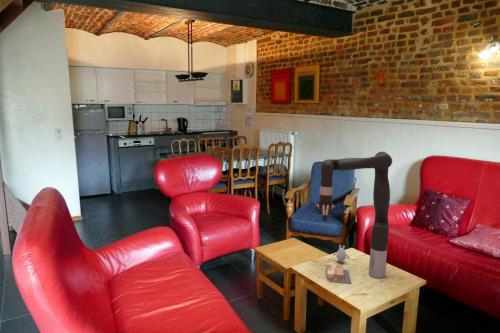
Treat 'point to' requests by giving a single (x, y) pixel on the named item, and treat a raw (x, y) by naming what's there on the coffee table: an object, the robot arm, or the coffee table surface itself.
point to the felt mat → (347, 278)
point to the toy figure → (341, 254)
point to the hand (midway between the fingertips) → (324, 220)
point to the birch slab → (335, 272)
